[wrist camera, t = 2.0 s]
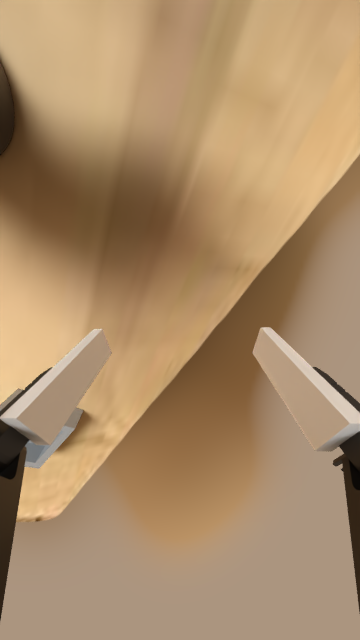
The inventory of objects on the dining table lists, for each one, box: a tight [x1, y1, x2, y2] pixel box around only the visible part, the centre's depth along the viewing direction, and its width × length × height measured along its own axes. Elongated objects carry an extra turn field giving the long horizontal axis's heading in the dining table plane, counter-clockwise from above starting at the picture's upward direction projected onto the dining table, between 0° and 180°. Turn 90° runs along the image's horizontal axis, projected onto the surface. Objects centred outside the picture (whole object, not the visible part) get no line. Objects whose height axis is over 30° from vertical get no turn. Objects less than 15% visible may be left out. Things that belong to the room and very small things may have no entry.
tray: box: [0, 389, 83, 468], centre depth 27 cm, size 13×13×4 cm
